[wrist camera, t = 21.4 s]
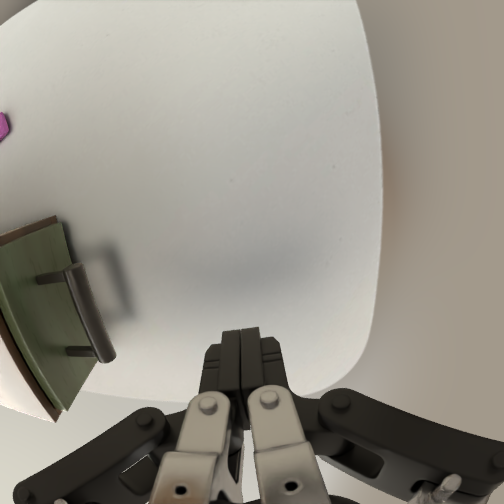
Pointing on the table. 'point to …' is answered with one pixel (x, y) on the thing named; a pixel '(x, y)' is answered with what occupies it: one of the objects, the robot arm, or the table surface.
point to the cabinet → (11, 363)
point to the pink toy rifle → (3, 126)
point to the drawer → (52, 313)
